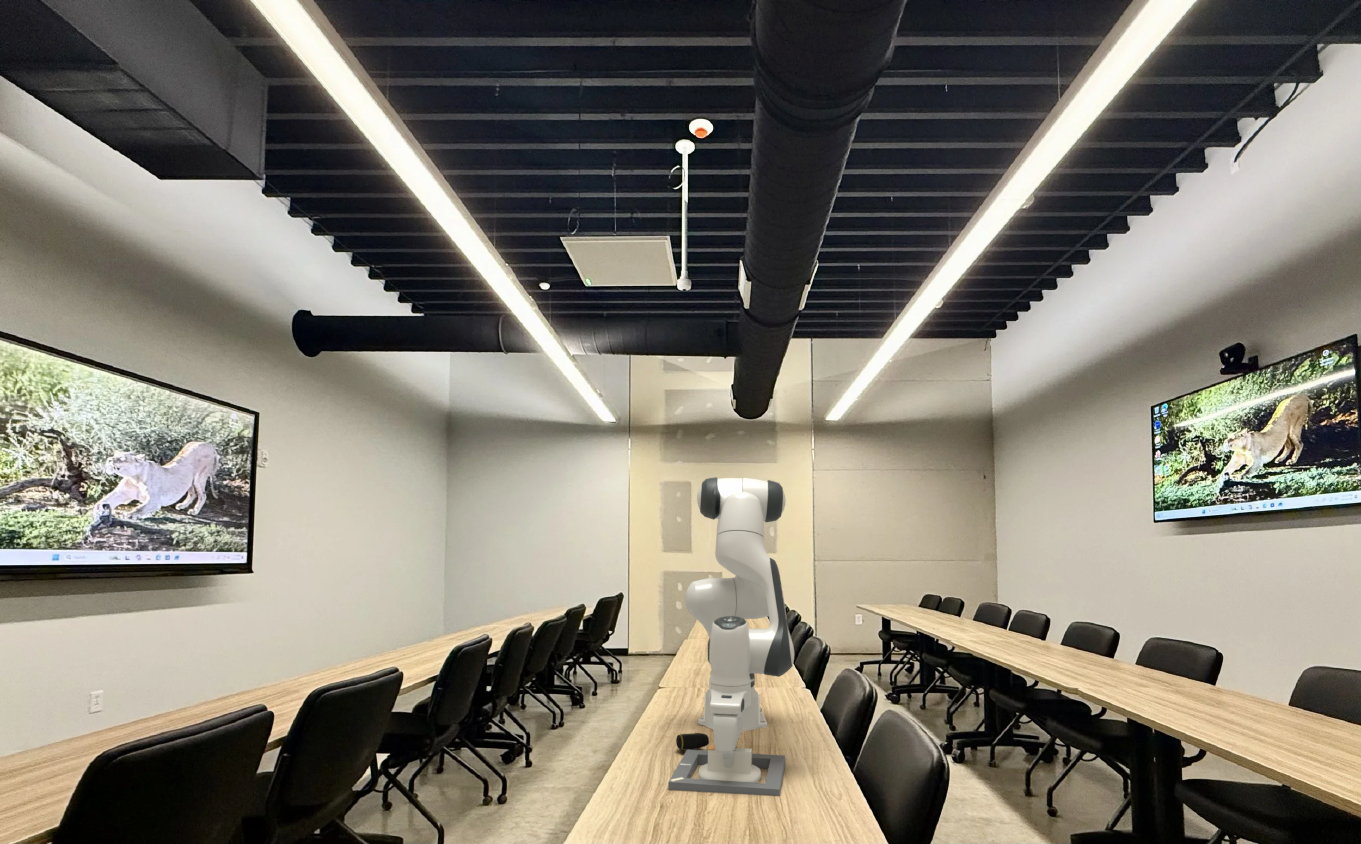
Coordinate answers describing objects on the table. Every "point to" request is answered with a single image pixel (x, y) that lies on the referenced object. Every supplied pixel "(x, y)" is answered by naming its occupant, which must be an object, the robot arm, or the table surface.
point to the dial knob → (738, 772)
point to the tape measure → (692, 741)
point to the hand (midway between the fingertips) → (729, 763)
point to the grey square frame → (698, 757)
